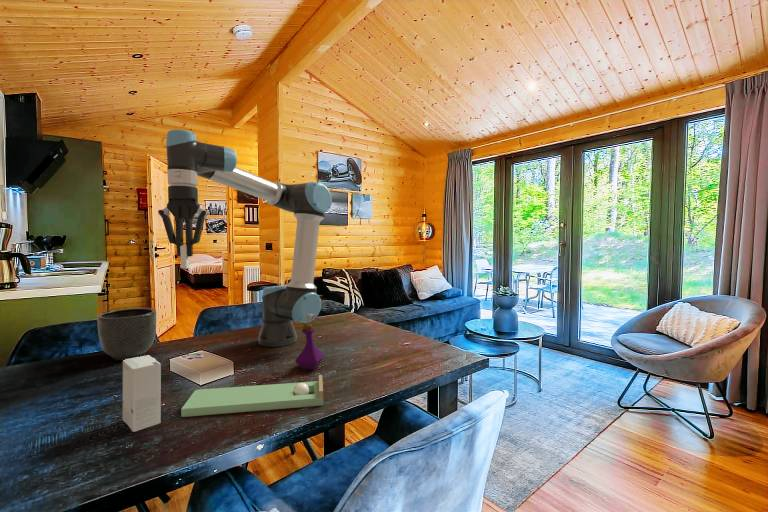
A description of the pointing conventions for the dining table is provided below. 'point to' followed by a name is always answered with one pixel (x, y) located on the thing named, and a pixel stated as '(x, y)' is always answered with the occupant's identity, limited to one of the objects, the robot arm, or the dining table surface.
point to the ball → (301, 389)
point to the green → (251, 398)
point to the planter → (127, 332)
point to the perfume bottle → (309, 349)
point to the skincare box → (141, 392)
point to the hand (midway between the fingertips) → (185, 267)
